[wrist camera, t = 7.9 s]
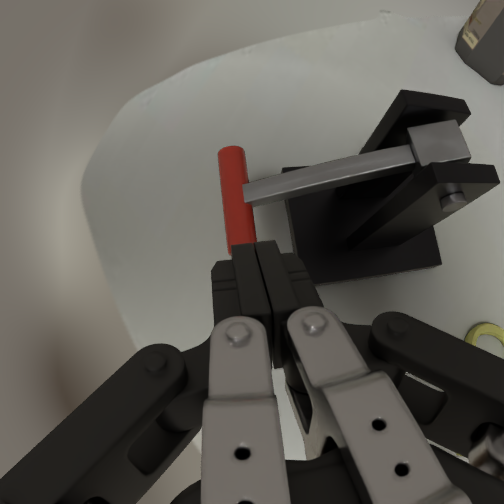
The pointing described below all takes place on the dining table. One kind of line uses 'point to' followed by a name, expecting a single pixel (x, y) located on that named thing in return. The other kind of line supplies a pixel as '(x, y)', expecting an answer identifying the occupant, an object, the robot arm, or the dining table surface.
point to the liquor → (484, 41)
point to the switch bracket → (386, 204)
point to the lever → (329, 174)
